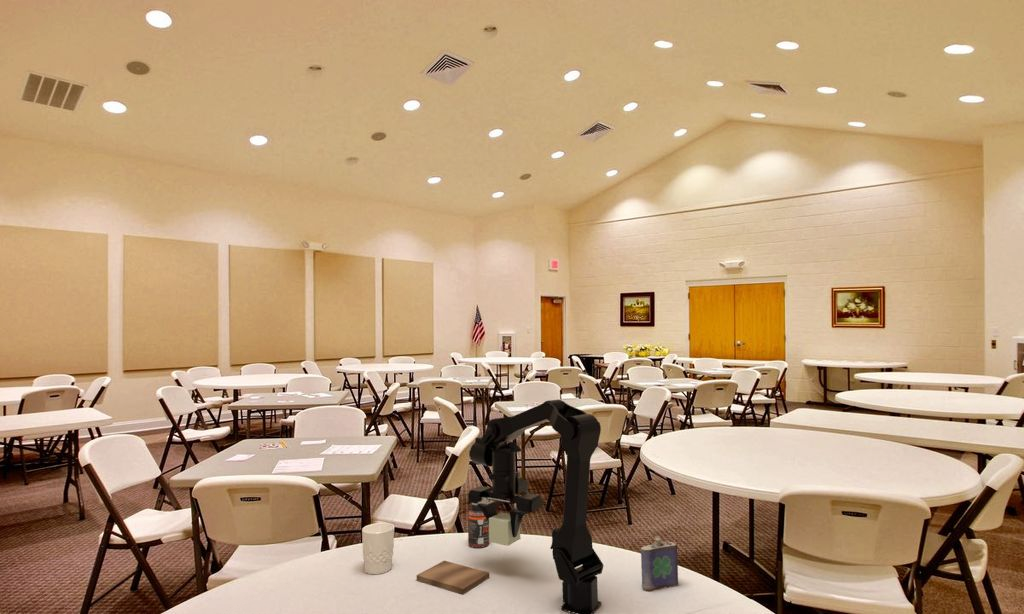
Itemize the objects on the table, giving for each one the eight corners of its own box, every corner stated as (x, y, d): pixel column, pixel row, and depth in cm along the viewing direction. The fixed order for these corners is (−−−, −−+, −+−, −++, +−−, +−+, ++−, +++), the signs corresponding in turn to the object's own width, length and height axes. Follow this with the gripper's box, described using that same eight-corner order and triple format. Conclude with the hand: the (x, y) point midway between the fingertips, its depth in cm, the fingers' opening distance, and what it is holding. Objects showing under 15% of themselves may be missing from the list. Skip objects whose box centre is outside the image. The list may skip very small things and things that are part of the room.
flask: (646, 592, 113) (644, 542, 114) (638, 586, 116) (636, 537, 117) (681, 585, 116) (679, 536, 117) (673, 580, 119) (671, 532, 120)
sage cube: (520, 538, 126) (519, 515, 127) (508, 545, 122) (507, 521, 122) (501, 534, 129) (501, 512, 130) (489, 541, 125) (488, 518, 125)
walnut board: (489, 577, 122) (489, 572, 122) (463, 594, 114) (463, 588, 114) (444, 565, 130) (444, 560, 130) (416, 580, 122) (416, 575, 122)
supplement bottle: (486, 549, 140) (486, 506, 141) (465, 547, 142) (465, 505, 143) (491, 541, 146) (491, 500, 147) (471, 540, 147) (471, 499, 148)
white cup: (359, 566, 131) (359, 525, 131) (390, 560, 134) (390, 520, 135) (364, 578, 123) (364, 535, 124) (397, 571, 127) (397, 529, 128)
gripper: (552, 466, 129) (554, 531, 127) (491, 459, 139) (492, 519, 137) (529, 476, 119) (531, 546, 118) (466, 467, 129) (466, 532, 128)
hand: (504, 534), depth 125 cm, fingers closed on sage cube, 5 cm apart
